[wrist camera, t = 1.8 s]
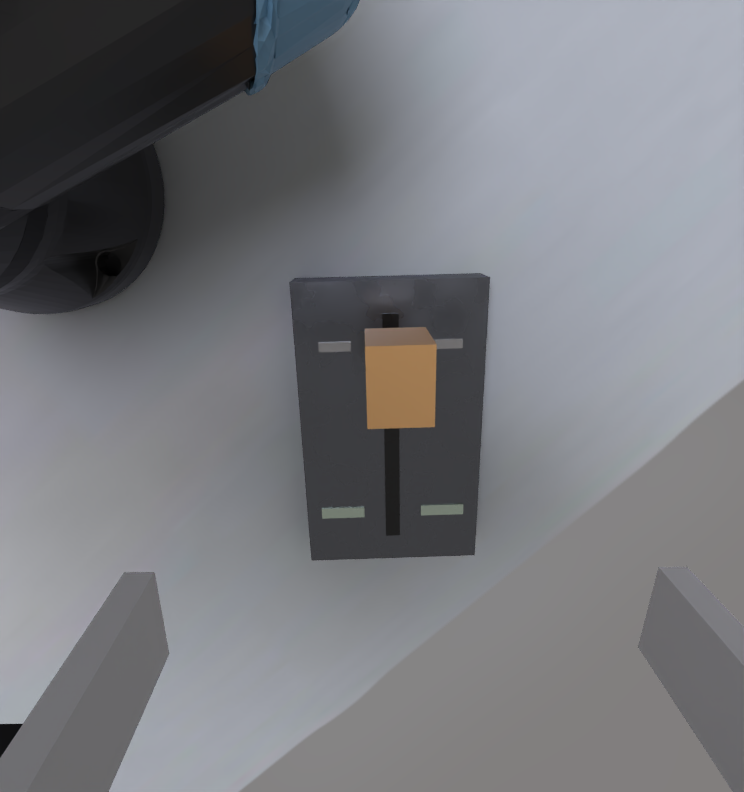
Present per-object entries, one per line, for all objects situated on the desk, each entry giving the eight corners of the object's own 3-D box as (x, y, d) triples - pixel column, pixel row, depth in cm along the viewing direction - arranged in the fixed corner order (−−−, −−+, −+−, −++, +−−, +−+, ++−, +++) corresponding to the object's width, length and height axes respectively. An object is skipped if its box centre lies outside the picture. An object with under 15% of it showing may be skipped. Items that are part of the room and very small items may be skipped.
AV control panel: (295, 278, 31) (289, 282, 29) (480, 273, 31) (490, 277, 29) (314, 539, 38) (311, 561, 35) (467, 534, 38) (474, 555, 35)
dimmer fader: (364, 315, 29) (365, 346, 21) (417, 313, 29) (436, 344, 22) (366, 378, 30) (367, 428, 23) (416, 376, 30) (434, 427, 23)
